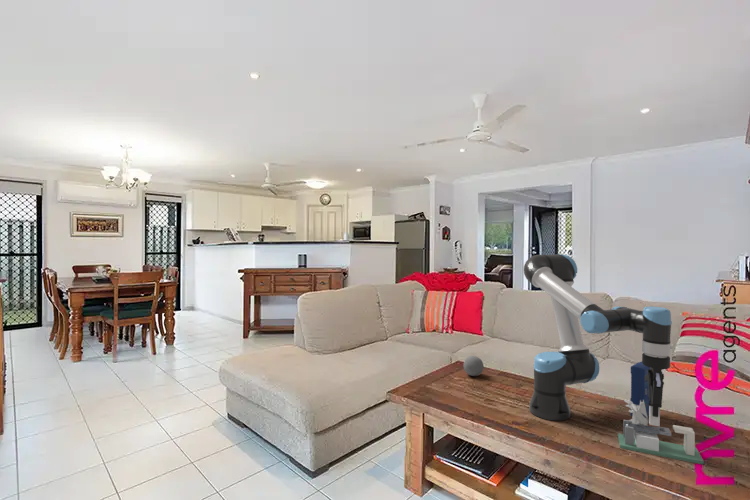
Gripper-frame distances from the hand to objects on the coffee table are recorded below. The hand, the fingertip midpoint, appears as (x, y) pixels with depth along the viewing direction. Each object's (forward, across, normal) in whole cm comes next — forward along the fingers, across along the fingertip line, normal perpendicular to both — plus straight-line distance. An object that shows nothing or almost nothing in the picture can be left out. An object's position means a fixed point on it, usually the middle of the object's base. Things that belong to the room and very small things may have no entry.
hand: (654, 424), depth 131 cm
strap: (+3, 0, +2) cm, 3 cm away
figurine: (+8, +12, +4) cm, 15 cm away
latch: (+7, 0, -8) cm, 10 cm away
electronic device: (+8, +28, 0) cm, 29 cm away
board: (+8, 0, -1) cm, 8 cm away
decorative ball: (+9, +44, +70) cm, 83 cm away
